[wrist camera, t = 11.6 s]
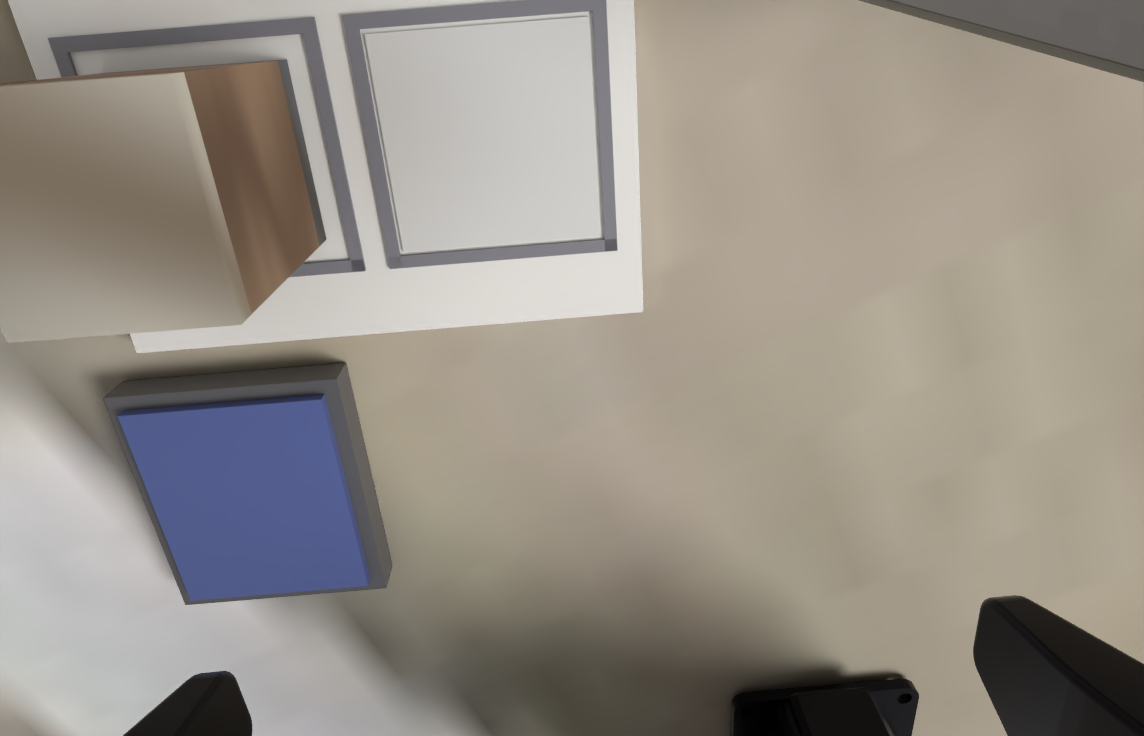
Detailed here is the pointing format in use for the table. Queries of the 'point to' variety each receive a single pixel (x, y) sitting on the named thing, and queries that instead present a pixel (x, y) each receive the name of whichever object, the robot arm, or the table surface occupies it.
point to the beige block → (150, 199)
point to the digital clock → (1048, 27)
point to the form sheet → (415, 150)
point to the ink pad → (255, 481)
